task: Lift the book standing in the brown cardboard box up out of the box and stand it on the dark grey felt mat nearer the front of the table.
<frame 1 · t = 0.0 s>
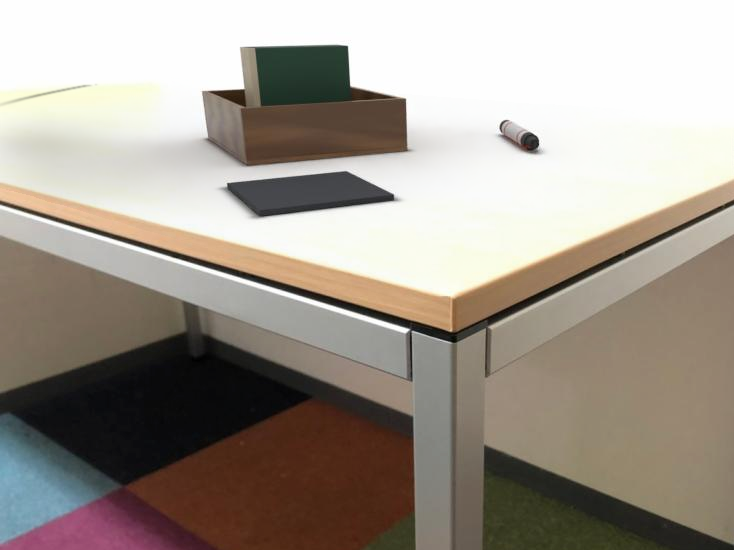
box: (303, 144, 94), on the table
mat: (308, 193, 68), on the table
book: (302, 140, 93), resting on box
marker: (520, 145, 93), on the table
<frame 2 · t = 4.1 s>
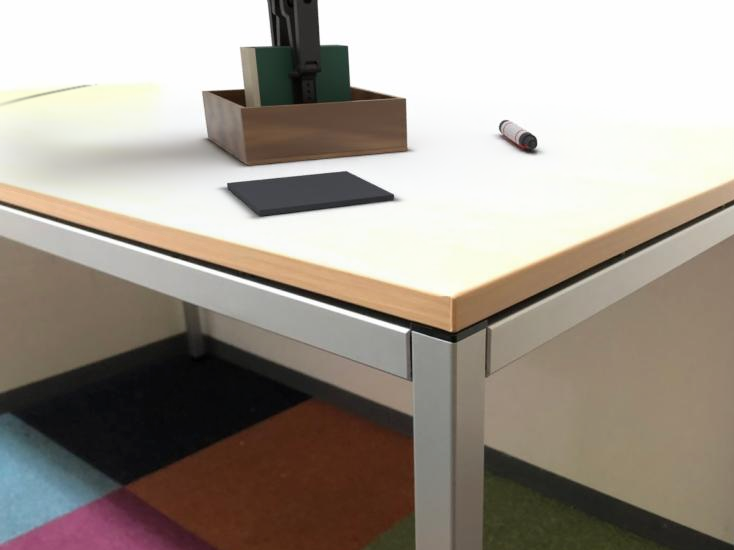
hand: (301, 131, 93), 2 cm above the table, tool pointing down, fingers closed on book, 4 cm apart
book: (302, 140, 93), point 1 cm above the table, touching box, gripper
everything else where it was.
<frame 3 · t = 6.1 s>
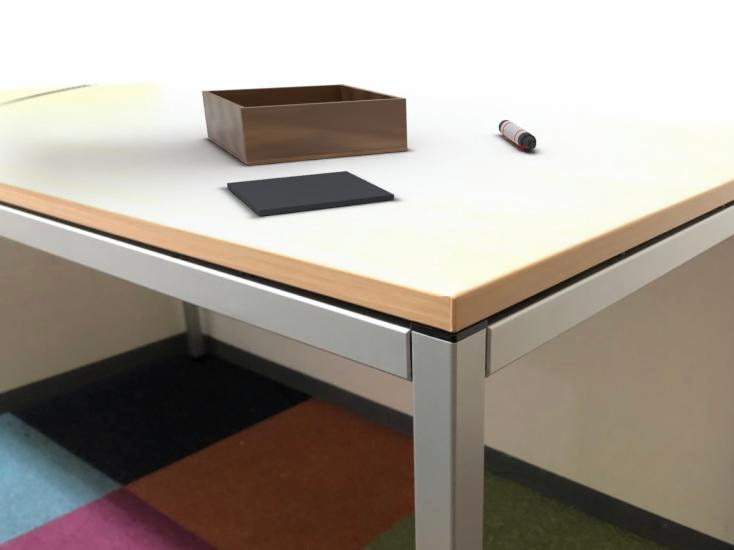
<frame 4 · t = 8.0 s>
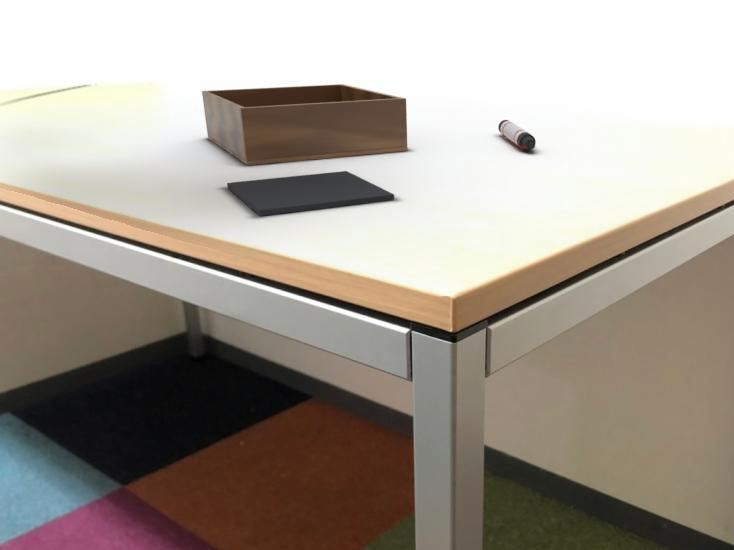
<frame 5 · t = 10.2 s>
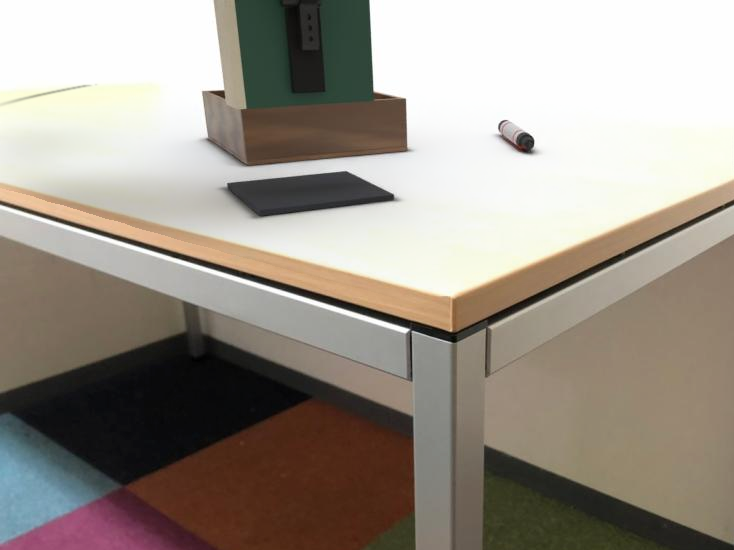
hand: (300, 89, 65), 9 cm above the table, tool pointing down, fingers closed on book, 4 cm apart
book: (301, 102, 65), point 8 cm above the table, touching gripper
everything else where it was.
when the fingers open (2 cm above the table, at t = 12.1 s): book stays where it is, resting on mat.
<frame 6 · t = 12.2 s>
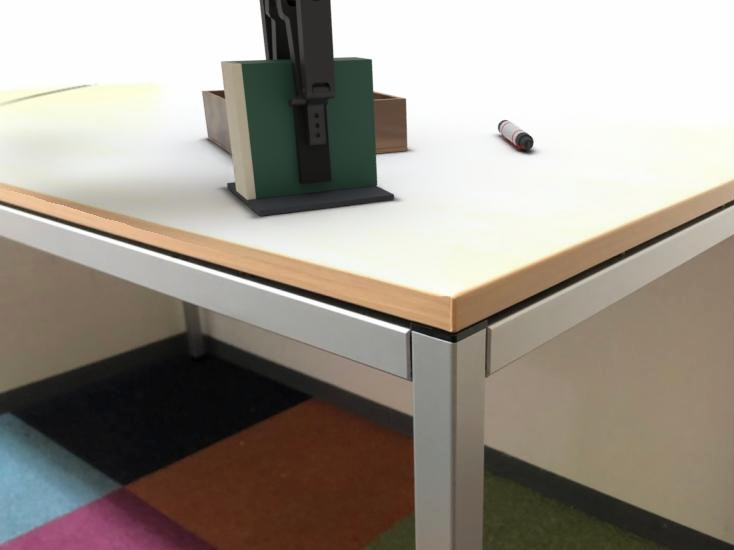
hand: (307, 176, 68), 2 cm above the table, tool pointing down, fingers open, 4 cm apart
book: (308, 188, 68), resting on mat
everything else where it was.
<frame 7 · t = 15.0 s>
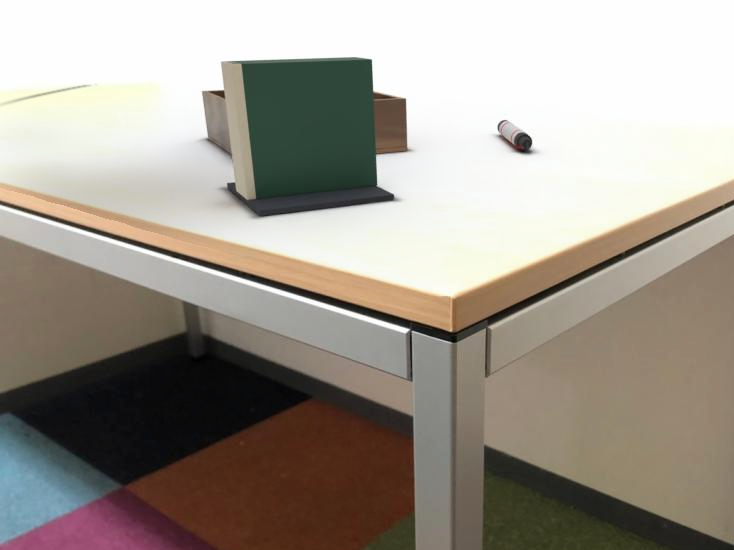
nothing on the table moved.
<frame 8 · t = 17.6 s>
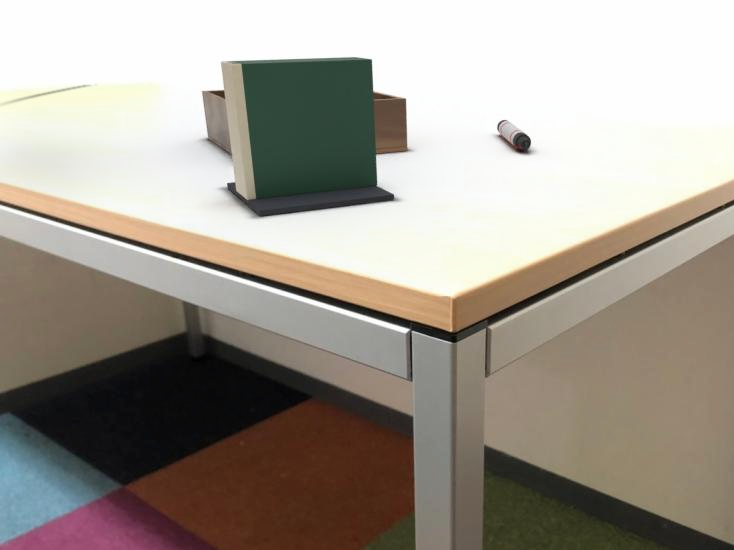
nothing on the table moved.
at the end: book inside the target area on the mat (0.1 cm from its centre), point 0.5 cm above the mat's base; book tilted 0°; the gripper is holding nothing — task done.
